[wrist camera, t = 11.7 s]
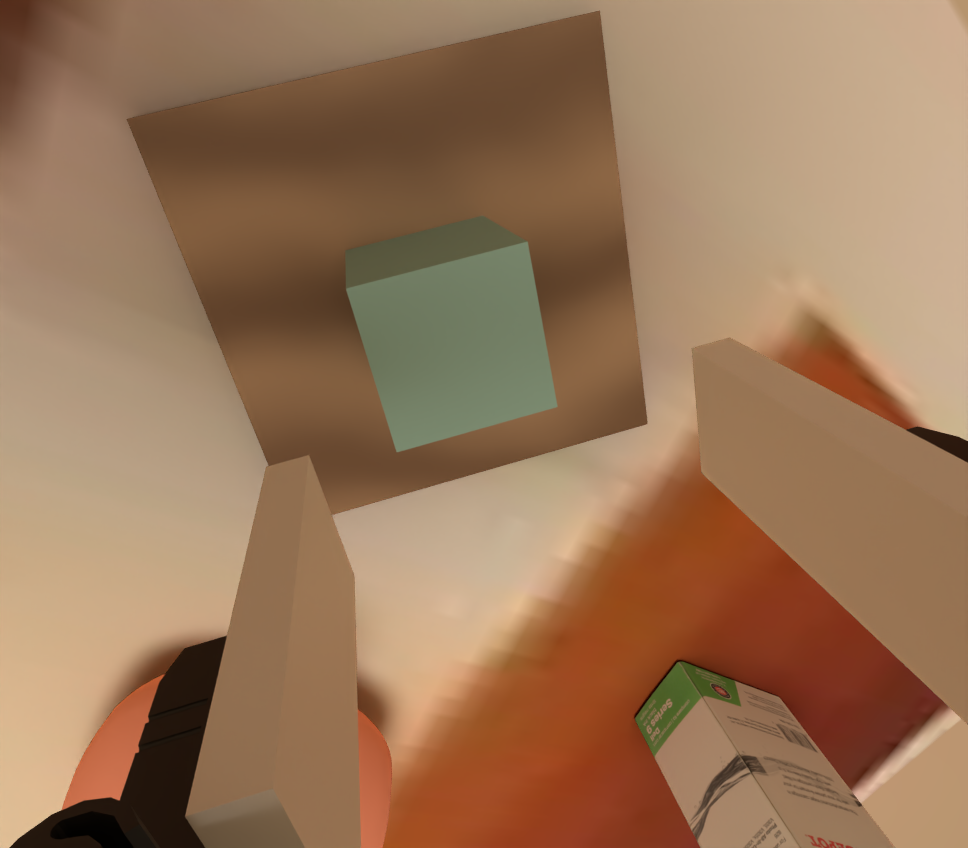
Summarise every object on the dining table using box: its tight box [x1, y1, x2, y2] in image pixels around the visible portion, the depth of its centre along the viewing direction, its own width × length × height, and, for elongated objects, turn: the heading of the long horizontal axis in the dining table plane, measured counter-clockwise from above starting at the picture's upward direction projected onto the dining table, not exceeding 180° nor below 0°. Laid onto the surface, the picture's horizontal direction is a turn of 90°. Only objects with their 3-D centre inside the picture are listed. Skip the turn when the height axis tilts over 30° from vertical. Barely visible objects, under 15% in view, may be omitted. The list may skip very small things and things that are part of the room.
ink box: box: [635, 662, 895, 848], centre depth 34 cm, size 9×5×12 cm, turn 58°
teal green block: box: [345, 216, 558, 452], centre depth 22 cm, size 5×5×7 cm
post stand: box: [127, 11, 647, 515], centre depth 23 cm, size 16×16×6 cm
